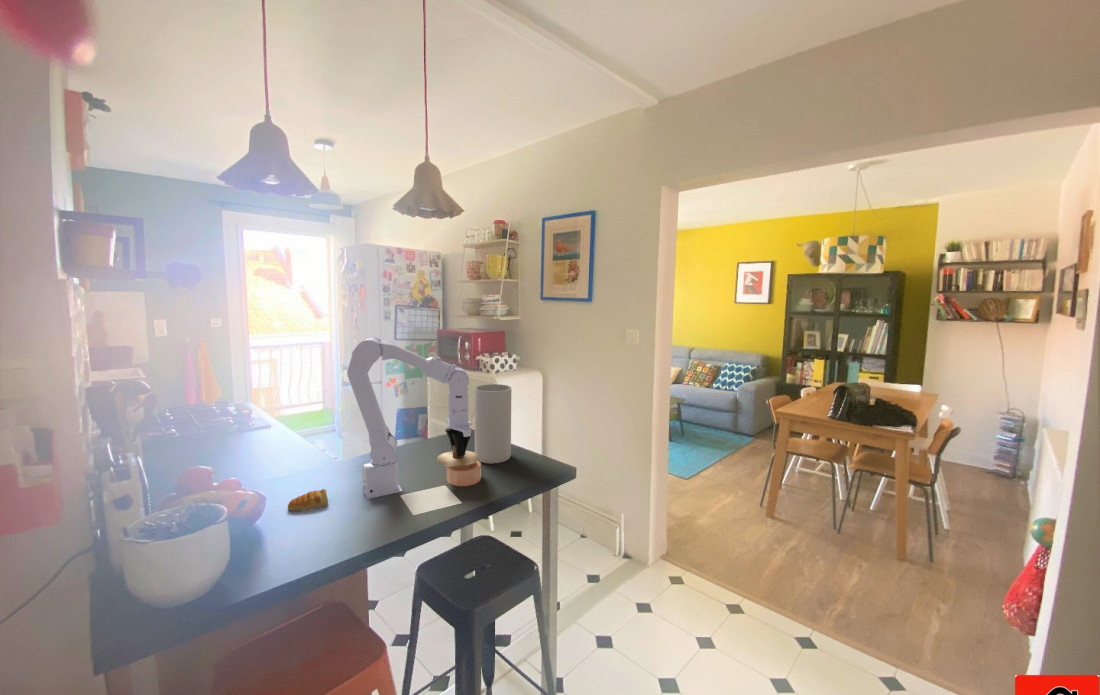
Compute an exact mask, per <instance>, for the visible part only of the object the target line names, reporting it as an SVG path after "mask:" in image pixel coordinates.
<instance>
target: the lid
mask: <svg viewBox="0 0 1100 695" xmlns="http://www.w3.org/2000/svg"><path fill="white" fill-rule="evenodd" d="M478 459H479V455H478V454H477V453H475V451H471V450H470V451H469V450H466V452H465V455H464V456H459V457H458V456H457V453H456V445H455V444H454V445H453V451H452V450H451V451H450V450H449V451H447V452H443V453H440V454H439V455H438V456H437V463H438V464H439V465H441V466H445V467H447V466H452V467H458V466H466V465H470V464H473V463H475V462H477V461H478Z"/></svg>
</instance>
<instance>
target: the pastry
mask: <svg viewBox="0 0 1100 695" xmlns="http://www.w3.org/2000/svg"><path fill="white" fill-rule="evenodd" d="M328 504H329V499H328V496H327V489H325V488H322V489H321V490H313V491H312V490H311V491H308V492H307V493H303V494H302V495H298V496H297V497H295V498H293V499H291V500H290V501H289V502H288V504H287V509H288V510H290V511H292V512H303V511H302V510H305V511H304V512H307V510H308V511H311V510H310V509H313V510H317V509H316V508H318V509H322V507H323V508H326V507H327V506H328ZM325 506H326V507H325Z"/></svg>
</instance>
